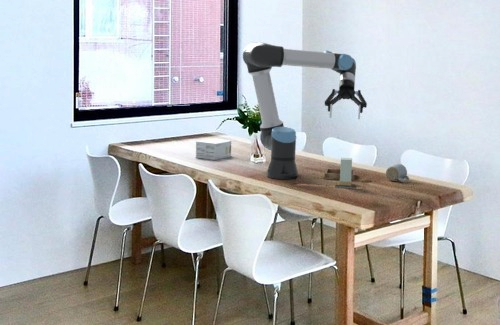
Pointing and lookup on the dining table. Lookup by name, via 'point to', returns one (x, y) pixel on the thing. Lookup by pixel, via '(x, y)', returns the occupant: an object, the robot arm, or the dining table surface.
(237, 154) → the dining table surface
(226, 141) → the supplement box
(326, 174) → the crate
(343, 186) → the coaster
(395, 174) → the ceramic mug
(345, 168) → the block
